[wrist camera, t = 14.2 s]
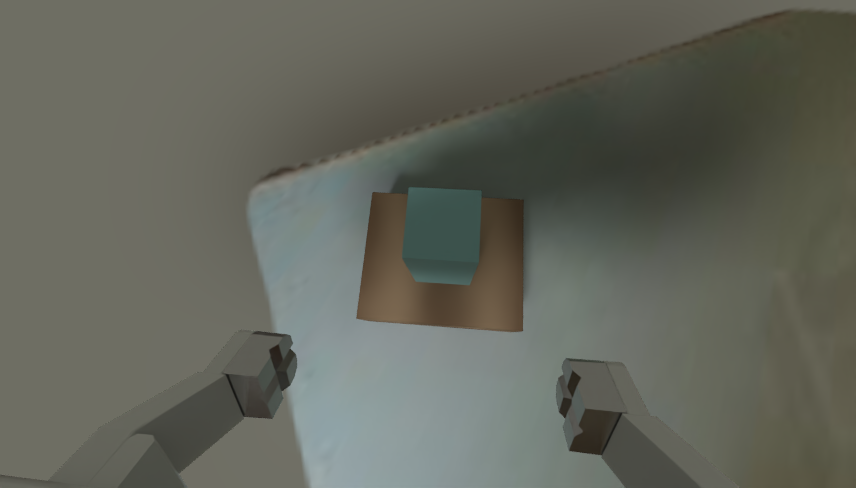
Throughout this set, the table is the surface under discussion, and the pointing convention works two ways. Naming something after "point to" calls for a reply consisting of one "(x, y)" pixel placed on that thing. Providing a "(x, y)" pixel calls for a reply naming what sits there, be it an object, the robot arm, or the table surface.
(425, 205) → the teal column
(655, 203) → the table surface
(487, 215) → the walnut block
